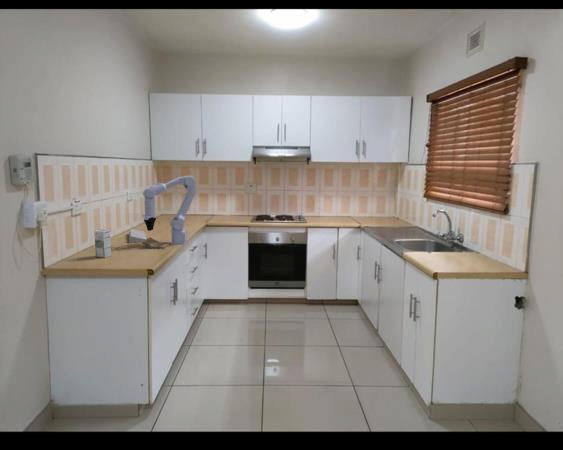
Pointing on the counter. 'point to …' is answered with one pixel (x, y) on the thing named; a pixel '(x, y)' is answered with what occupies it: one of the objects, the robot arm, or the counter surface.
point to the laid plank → (162, 245)
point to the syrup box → (102, 243)
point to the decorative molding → (136, 236)
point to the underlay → (149, 247)
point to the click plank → (150, 242)
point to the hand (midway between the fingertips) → (150, 230)
